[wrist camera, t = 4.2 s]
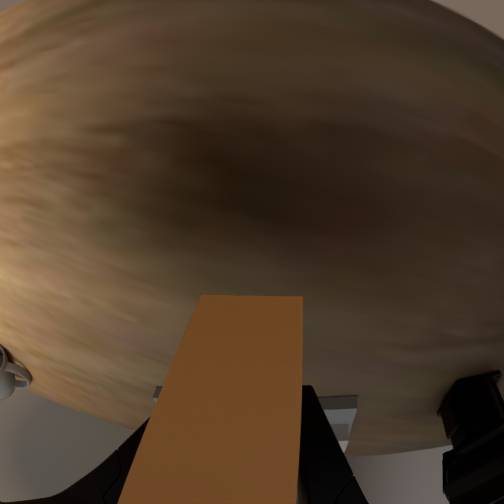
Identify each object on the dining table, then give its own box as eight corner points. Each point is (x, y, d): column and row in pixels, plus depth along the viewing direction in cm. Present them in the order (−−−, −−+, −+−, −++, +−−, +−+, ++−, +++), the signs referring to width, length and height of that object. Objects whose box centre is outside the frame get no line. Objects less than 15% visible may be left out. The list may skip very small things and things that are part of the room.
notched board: (356, 395, 26) (359, 426, 23) (343, 436, 30) (344, 461, 27) (157, 386, 29) (146, 412, 26) (179, 428, 33) (172, 450, 30)
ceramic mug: (-3, 361, 37) (-24, 390, 30) (-17, 331, 33) (-42, 362, 26) (39, 388, 38) (19, 422, 31) (26, 360, 33) (1, 397, 27)
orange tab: (302, 296, 9) (289, 562, 3) (298, 395, 11) (284, 566, 5) (201, 294, 9) (109, 525, 3) (223, 392, 12) (184, 552, 5)
